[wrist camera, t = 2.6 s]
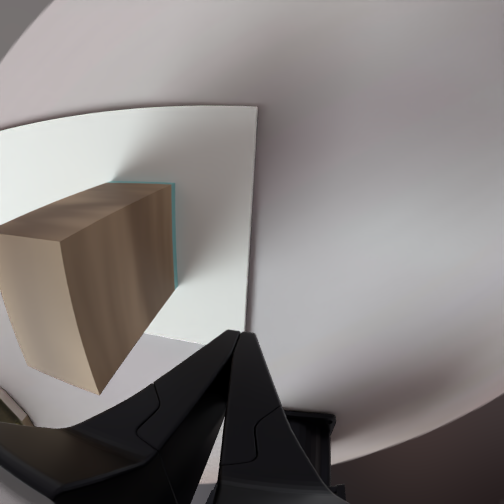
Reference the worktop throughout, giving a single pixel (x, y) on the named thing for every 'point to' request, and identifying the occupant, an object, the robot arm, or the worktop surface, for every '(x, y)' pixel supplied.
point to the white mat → (156, 170)
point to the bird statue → (12, 411)
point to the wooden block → (89, 277)
